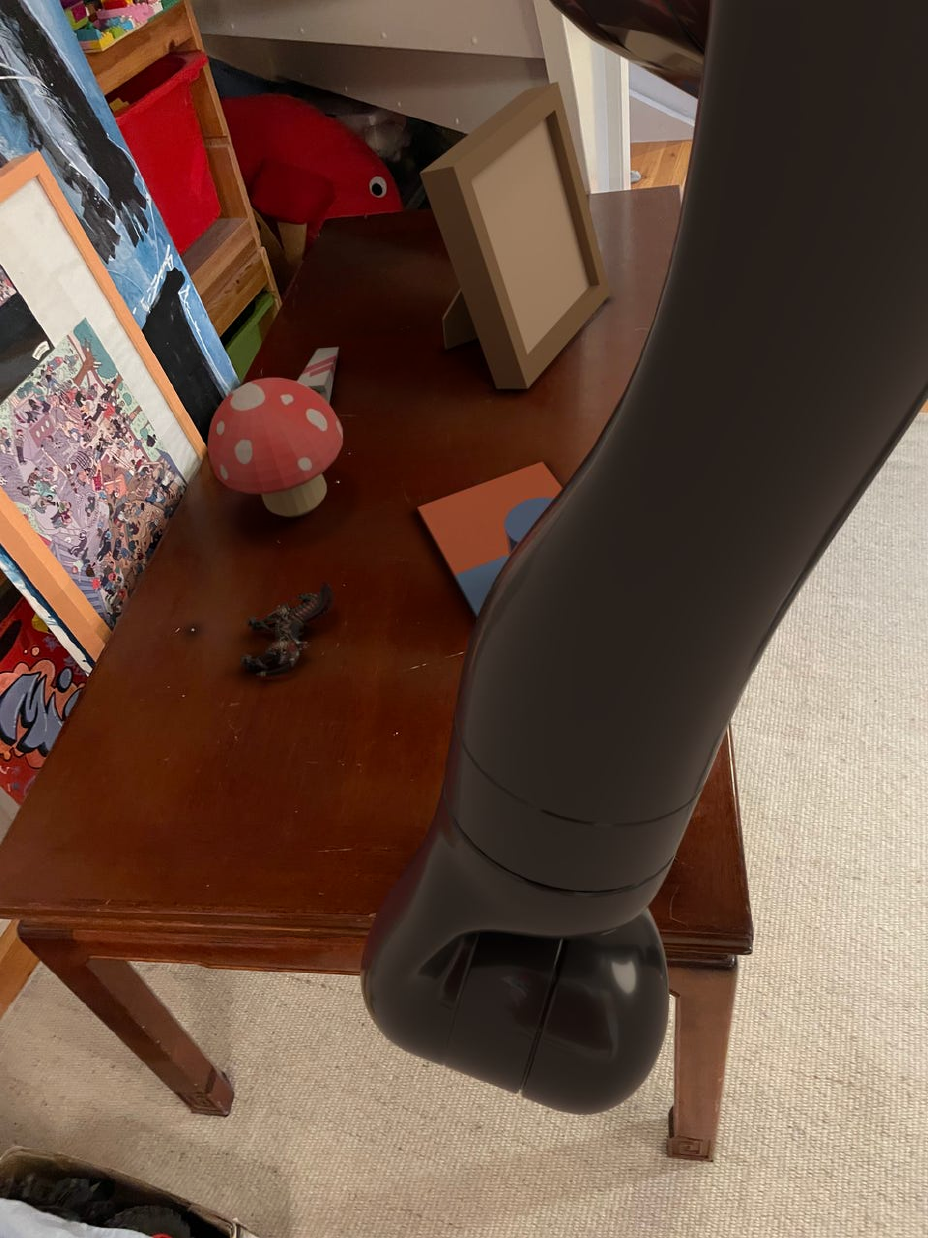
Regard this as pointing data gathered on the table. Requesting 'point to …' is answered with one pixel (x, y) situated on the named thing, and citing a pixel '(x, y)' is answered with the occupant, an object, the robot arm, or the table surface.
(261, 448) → the decorative mushroom
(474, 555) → the board
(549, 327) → the photo frame
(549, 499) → the blue cylinder
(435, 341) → the table surface
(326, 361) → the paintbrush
